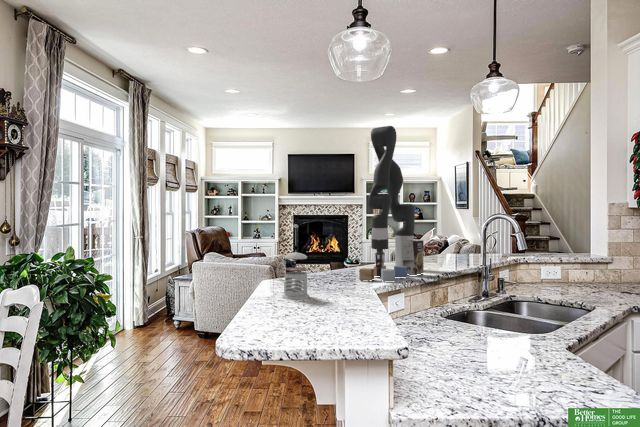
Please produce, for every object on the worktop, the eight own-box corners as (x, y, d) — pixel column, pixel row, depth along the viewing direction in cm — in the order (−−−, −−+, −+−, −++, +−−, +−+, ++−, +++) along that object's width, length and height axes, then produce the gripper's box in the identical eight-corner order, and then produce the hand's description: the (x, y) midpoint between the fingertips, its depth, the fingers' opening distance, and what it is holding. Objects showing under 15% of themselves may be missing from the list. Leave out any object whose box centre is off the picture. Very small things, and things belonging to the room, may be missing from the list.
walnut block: (362, 279, 195) (362, 268, 195) (373, 280, 193) (373, 268, 193) (359, 281, 190) (359, 269, 190) (370, 281, 188) (370, 270, 188)
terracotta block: (375, 276, 204) (374, 265, 204) (386, 276, 203) (386, 265, 203) (373, 277, 199) (373, 266, 199) (385, 278, 198) (385, 266, 198)
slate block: (381, 280, 192) (381, 268, 192) (392, 280, 192) (392, 268, 192) (383, 282, 187) (383, 270, 187) (395, 282, 187) (395, 270, 187)
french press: (306, 299, 149) (306, 224, 149) (273, 298, 151) (272, 224, 151) (312, 294, 159) (312, 224, 159) (281, 293, 161) (281, 223, 161)
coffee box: (415, 277, 201) (415, 241, 201) (402, 276, 205) (402, 240, 205) (424, 274, 208) (424, 240, 208) (411, 273, 212) (411, 239, 212)
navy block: (394, 277, 202) (393, 266, 202) (405, 277, 201) (405, 266, 201) (395, 278, 197) (395, 267, 197) (406, 278, 196) (406, 267, 196)
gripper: (373, 237, 209) (373, 273, 209) (369, 239, 195) (369, 278, 195) (389, 237, 207) (389, 274, 207) (386, 239, 193) (387, 278, 193)
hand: (380, 276), depth 201 cm, fingers closed on terracotta block, 5 cm apart
